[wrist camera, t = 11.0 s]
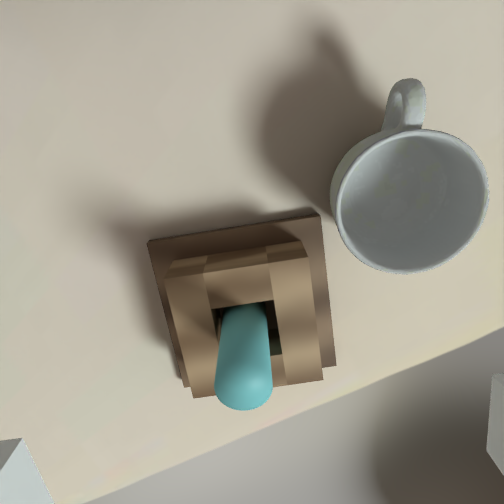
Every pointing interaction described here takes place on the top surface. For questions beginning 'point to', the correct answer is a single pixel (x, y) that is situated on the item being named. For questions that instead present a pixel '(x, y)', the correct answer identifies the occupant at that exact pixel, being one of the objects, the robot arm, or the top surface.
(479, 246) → the top surface
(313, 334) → the socket
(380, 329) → the top surface
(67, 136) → the top surface
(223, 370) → the peg
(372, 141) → the teacup
